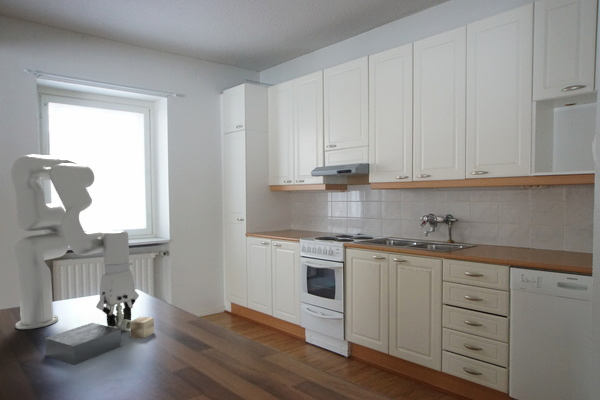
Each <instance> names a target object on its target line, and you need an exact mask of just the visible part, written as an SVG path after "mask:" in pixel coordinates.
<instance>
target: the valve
mask: <svg viewBox="0 0 600 400" xmlns="http://www.w3.org/2000/svg"><path fill="white" fill-rule="evenodd" d="M123 297H125V299H127V298H128V295H124V296H123ZM118 300H122V297H118ZM122 306H123V305H121V303H119V304H116V305H115V313H114V314H115V326H114V327H113V328H117V329H121V332H130V322H131V321H132V319H131V320H126V319H123V317H124V313H123V307H122ZM106 326H108V324H107V325H106ZM109 327H112V326H109Z"/></svg>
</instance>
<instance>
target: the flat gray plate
mask: <svg viewBox="0 0 600 400" xmlns="http://www.w3.org/2000/svg"><path fill="white" fill-rule="evenodd" d="M121 332H122V331H121V329H117V328H113V327H109V326H107V325H104V324H100V323H96V322H95V323H94V322H90V323H88V324H83V325H80V326H78V327H74V328H71V329H68V330H66V331H62V332H60V333H56V334H52V335H49V336H47V337H46V336H45V337H44V343H45V344H44V345H45V356H46V357H50V358H53V359H55V360H59V361H61V362H64V363H67V364H70V365H74V366H75V365H77V364H81V363H83V362H85V361H87V360H90V359H93V358H96V357H97V356H98V357H99V356H100V355H102V354H105V353H108V352H110V351H113V350H116V349H117V348H120V347H122V333H121Z"/></svg>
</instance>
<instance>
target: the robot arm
mask: <svg viewBox="0 0 600 400" xmlns="http://www.w3.org/2000/svg"><path fill="white" fill-rule="evenodd" d="M10 178H11V181H12V186H13V189H14V195H15V209H16V221H17V225H18V227H19V229H20V230H22V231H24V232H37V231H45V233H40V234H31V235H30V234H29V235H26V236H23V237H20V238H18V240H16V241H15V243H14V244H13V245H14V246H13V254H14V255H13V256H14V258H15V261H16V265H17V272H18V273H17V274H18V290H19V291H18V292H19V309H20V310H19V311H20V313H19V316H20V320H19V321H17V322H16V323H15V328H16V329H18V330H33V329H37V328H43V327H48V326H49V325H50V326H51V325H52V324H55V323H57V322H58V321H59V316H58V315H56V314H54V312H53V311H54V310H53V308H54V307H53V306H54V305H53V290H52V289H53V288H52V286H53V285H52V273H51V270H50V267H49V266H48V265H47V263H46V262H45V261H47V260H52V259H53V260H54V259H57V258H60V257H62V256H64V255H66V253H67V252H68V250H69V248H70V249H71V251H72V252H73V253H74V254H76V255H78V256H89V255H94V254H99V253H103V265H104V268H103V270H104V273H103V274H101V277H100V284H99V285H100V286H99V300H98V302H97V304H96V306H95V307H96V308H97V309H98V310H100V311H101V312H103V313H104V314H105V315H106V323H107V325H108V326H112V327H114V326H115V314H116V313H114V310H115V308H116V306H117V304H119V303H120V304H123V306H124V307H122V313H124V317H123V319H126V320H131V321H132V309H133V307H134V304H135V303H136V301H137V299H138V298H139V296H140V295H139V293H138V292H137V291H136V290H135V281H134V277H133V272H132V270H131V269H130V267H132V266H133V263H132V262H130V247H129V245H130V244H129V243H130V242H129V233H128V231H126V230H123V229H121V230H118V229H117V230H109V229H97V230H96V229H95V230H88V231H87V230H86V231H85V230H84V228H83V227H82V225H81V224H82V223H81V221H80V214H81V212H83V211H85V210H86V209H88V208H89V207H90V206H91V205H92V202H93V199H92V196H91V195H90V193H89V191H88V188H90V187H91V186H92V185H93V183H94V181H95V174H94V171H93V170H92V168H91V167H89V166H88V165H86V164H84V163H81V162H78V161H76V160H75V161H74V160H73V159H69V158H67V157H63V156H51V155H43V154H26V155H25V154H24V155H21V156H19V157H17V158H16V159H15V160H14V162H12V165H11V168H10ZM39 180H50V181H51V183H52V185H53V187H54V189H55V191H56V194H57V195H58V197H59V200H60V201H61V203H62V205H63V207H62V206H61V205H60V204H56V203H46V200H45V199H46V198H45V196H46V195H45V191H44V189H43V187H42V185H41V184H40V183H39V182H38V181H39ZM124 295H128V298H127V299H125V297H123V296H124ZM118 297H122V300H118ZM104 305H105V306H104Z"/></svg>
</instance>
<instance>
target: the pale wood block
mask: <svg viewBox="0 0 600 400" xmlns="http://www.w3.org/2000/svg"><path fill="white" fill-rule="evenodd" d="M154 319H155V318H154V317H151V316H148V317H147V316H139V317H137V318H135V319H133V320H131V322H130V330H129V332H130V338H134V339H135V338H136V339H146V338H148V337H149V336H151V335H153V334H154V333H155V321H154Z"/></svg>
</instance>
